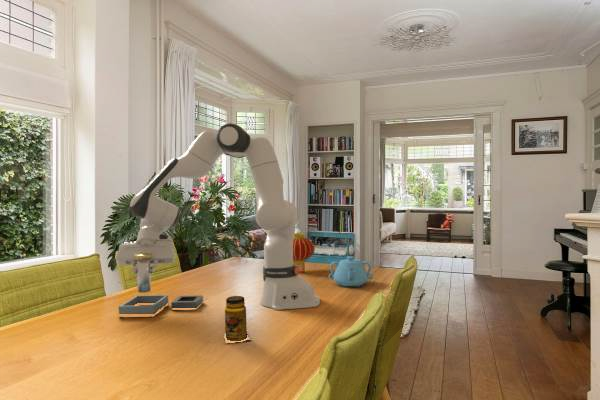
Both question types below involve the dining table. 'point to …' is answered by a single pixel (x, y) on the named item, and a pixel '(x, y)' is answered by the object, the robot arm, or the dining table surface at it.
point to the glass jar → (143, 272)
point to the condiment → (235, 319)
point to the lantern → (302, 249)
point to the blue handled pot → (350, 272)
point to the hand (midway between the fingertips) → (143, 272)
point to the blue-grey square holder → (187, 301)
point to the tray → (143, 309)
